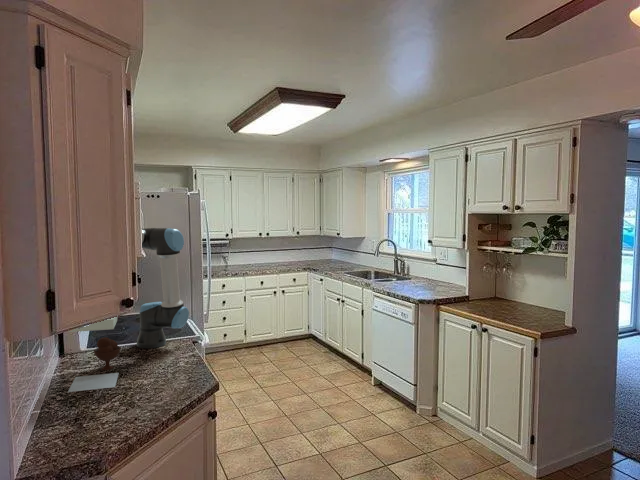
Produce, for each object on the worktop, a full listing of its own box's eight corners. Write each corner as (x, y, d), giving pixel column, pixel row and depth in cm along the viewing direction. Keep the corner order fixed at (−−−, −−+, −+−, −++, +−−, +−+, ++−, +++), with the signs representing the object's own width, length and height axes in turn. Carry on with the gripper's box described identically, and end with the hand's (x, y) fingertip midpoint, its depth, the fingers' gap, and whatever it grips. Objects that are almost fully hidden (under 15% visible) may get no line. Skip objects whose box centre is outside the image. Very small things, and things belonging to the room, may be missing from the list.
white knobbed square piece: (117, 320, 189) (117, 290, 188) (113, 329, 174) (113, 297, 173) (76, 322, 183) (76, 292, 182) (68, 332, 168) (68, 299, 167)
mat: (119, 373, 190) (119, 372, 190) (115, 388, 174) (115, 386, 174) (75, 378, 184) (75, 376, 184) (67, 393, 169) (67, 392, 169)
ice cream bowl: (110, 374, 190) (110, 341, 189) (88, 372, 192) (88, 339, 191) (125, 366, 200) (125, 334, 199) (104, 364, 202) (104, 333, 202)
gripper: (69, 256, 171) (70, 314, 172) (114, 256, 176) (114, 312, 177) (73, 255, 178) (74, 311, 179) (116, 254, 183) (116, 308, 184)
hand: (94, 311), depth 178 cm, fingers closed on white knobbed square piece, 3 cm apart
